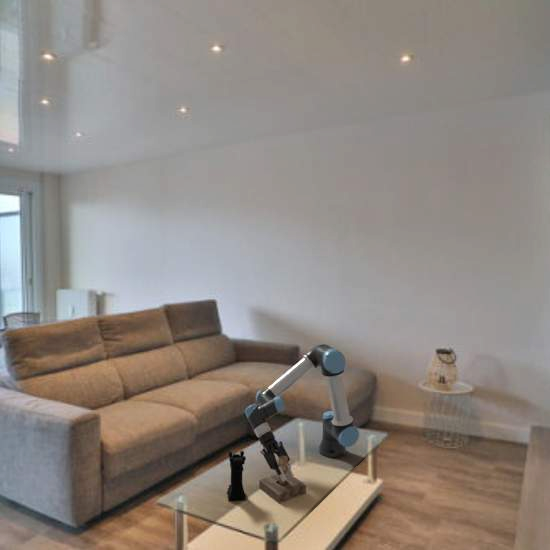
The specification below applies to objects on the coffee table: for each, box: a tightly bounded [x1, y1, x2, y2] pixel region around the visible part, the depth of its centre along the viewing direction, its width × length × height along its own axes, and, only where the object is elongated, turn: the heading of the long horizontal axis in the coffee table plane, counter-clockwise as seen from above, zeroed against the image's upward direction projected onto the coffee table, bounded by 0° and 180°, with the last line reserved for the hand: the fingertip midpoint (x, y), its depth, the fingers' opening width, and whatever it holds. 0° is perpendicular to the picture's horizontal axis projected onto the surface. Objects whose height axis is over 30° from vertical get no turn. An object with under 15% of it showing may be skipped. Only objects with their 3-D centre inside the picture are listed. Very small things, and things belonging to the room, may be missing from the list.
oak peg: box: [277, 456, 289, 486], centre depth 228 cm, size 4×4×13 cm
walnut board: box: [258, 472, 307, 504], centre depth 229 cm, size 16×16×4 cm
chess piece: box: [226, 450, 247, 502], centre depth 222 cm, size 8×8×20 cm
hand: (288, 478), depth 226 cm, fingers closed on oak peg, 4 cm apart
